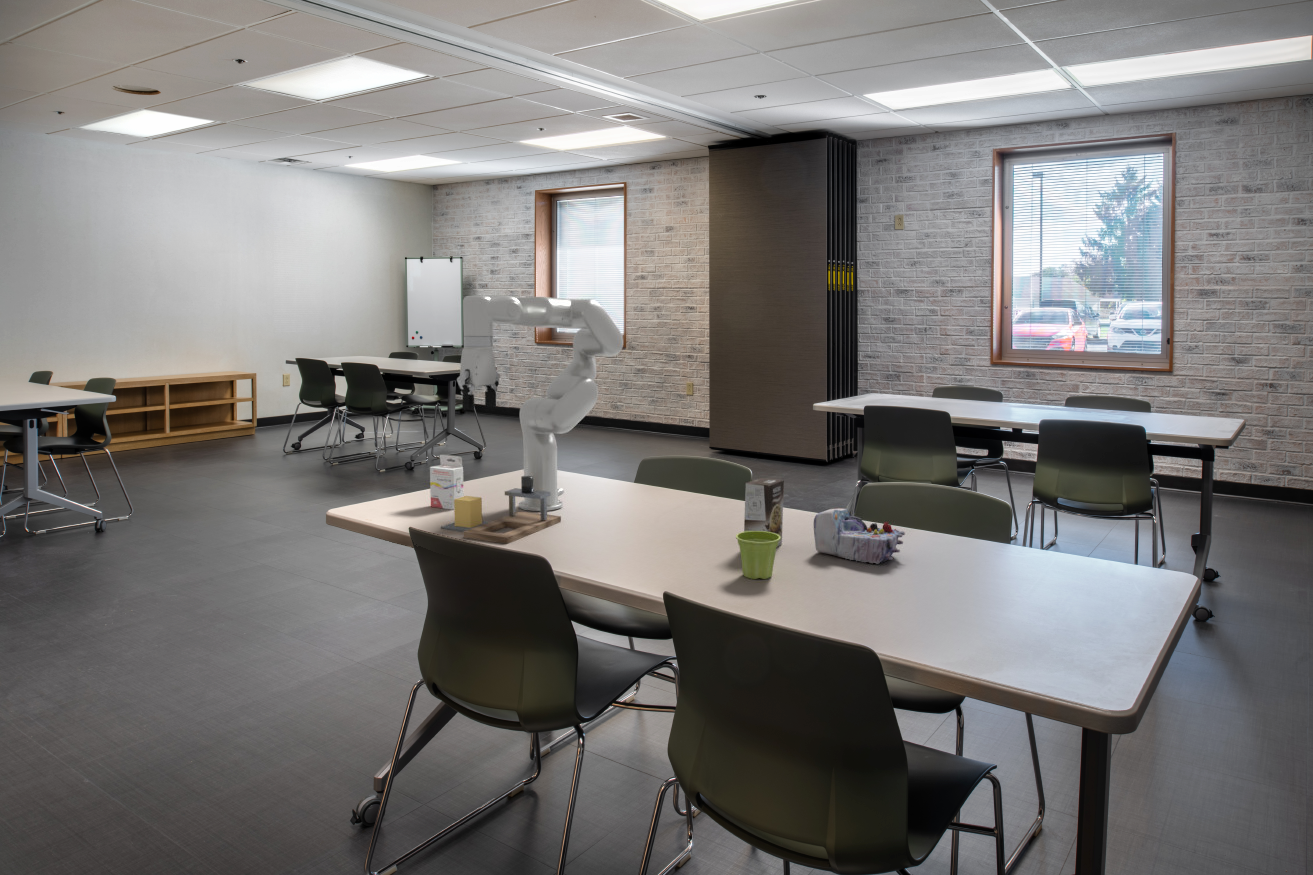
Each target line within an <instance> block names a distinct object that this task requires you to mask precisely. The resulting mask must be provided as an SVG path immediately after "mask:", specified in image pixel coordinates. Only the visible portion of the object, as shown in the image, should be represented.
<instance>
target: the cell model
mask: <svg viewBox="0 0 1313 875" xmlns="http://www.w3.org/2000/svg"><path fill="white" fill-rule="evenodd" d="M813 533H814V534H813V535H814V545H815V546H814V548H815V550H816V551H817V552H818V553H822V554H827V555H833V556H834V557H839V558H843V559H844V558H845V560H847V559H850V560H849V561H851V560H856V561H855V562H857V561H862V562H861V563H866V562H869V564H873V563H876V564H875V565H878V564H881V563H885V562H887V561H886V560H888V561H890V560H894V558H893V554H895V553H900V552H901V550H900V549H898V548H897V545H903V544H904V541H903V540H900V539H899V538H903V536H905V535H906V532H905V531H901V530H899V529H896V528H895V529H894V528H892V524H889V522H888V521H885V522H884V523H883V525H882V527H878V524H877V523H876V522H875V523H871V524H870V525H869V527H868V526H867V524H866V522H864V521H863V520H862V518H860V517H859V516H854V515H850V512H849V511H848V509H846V508H829V509H827V510H824V511H821V512H818V513H816V515H815V516H814V519H813ZM884 561H885V562H884ZM880 562H881V563H880Z"/></svg>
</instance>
